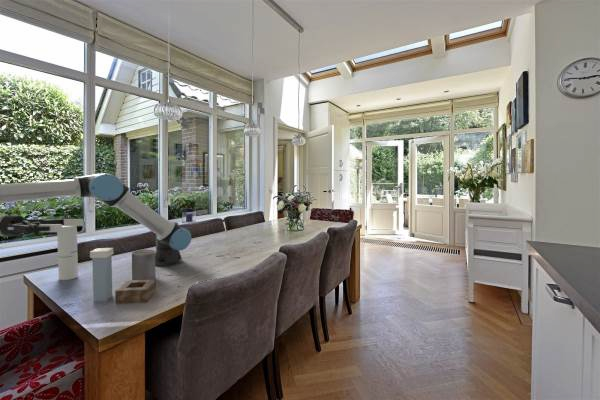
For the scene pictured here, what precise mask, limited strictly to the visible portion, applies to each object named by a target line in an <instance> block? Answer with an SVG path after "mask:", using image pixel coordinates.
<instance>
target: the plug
mask: <svg viewBox="0 0 600 400" xmlns="http://www.w3.org/2000/svg"><path fill="white" fill-rule="evenodd" d="M113 255H114V247H102V248H101V247H97V248H95V249H93V250H90V251H89V258H90V259H91V261H92V296H93V298H92V299H93V301H92V302H94V303H96V302H108V300H110V299H111V298H112V297H113V265H112V264H113V263H112V261H113V260H112V259H113V257H112V256H113Z"/></svg>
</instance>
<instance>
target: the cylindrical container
mask: <svg viewBox="0 0 600 400" xmlns="http://www.w3.org/2000/svg"><path fill="white" fill-rule="evenodd" d="M56 233H57V260H58V261H57V263H58V267H57V269H58V280H60V281H68V280H73V279H76V278H78V277H79V266H78V265H79V264H78V263H79V262H78V255H79V254H78V226H62V232H56Z"/></svg>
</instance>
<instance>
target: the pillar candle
mask: <svg viewBox="0 0 600 400" xmlns="http://www.w3.org/2000/svg"><path fill="white" fill-rule="evenodd" d="M155 252H156V250H154V249H140V250H139V249H138V250H135V251H133V252H131V280H156V266H155Z"/></svg>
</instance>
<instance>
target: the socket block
mask: <svg viewBox="0 0 600 400" xmlns="http://www.w3.org/2000/svg"><path fill="white" fill-rule="evenodd" d="M156 292H157V279H155V280H132V279H130V280H126V281H125V282H124V283H122V284H121V285H120V286H119V287H118V288H116V289H115V292H114V294H115V295H114V298H115V305H118V304H119V305H120V304H138V303H142V304H143V303H148V302H149V300H151V298H153V296H154V295H155V293H156Z"/></svg>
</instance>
